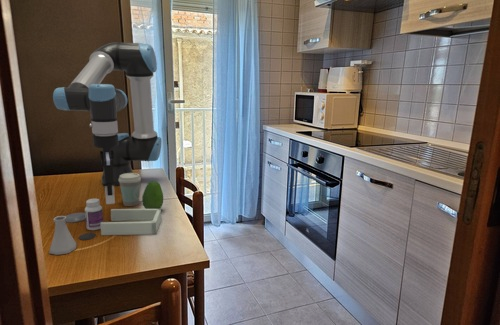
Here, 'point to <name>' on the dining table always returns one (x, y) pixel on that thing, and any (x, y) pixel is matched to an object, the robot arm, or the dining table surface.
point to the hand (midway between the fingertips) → (110, 203)
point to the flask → (62, 238)
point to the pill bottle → (93, 214)
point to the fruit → (152, 196)
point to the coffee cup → (130, 188)
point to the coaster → (75, 217)
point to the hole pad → (87, 236)
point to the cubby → (132, 227)
